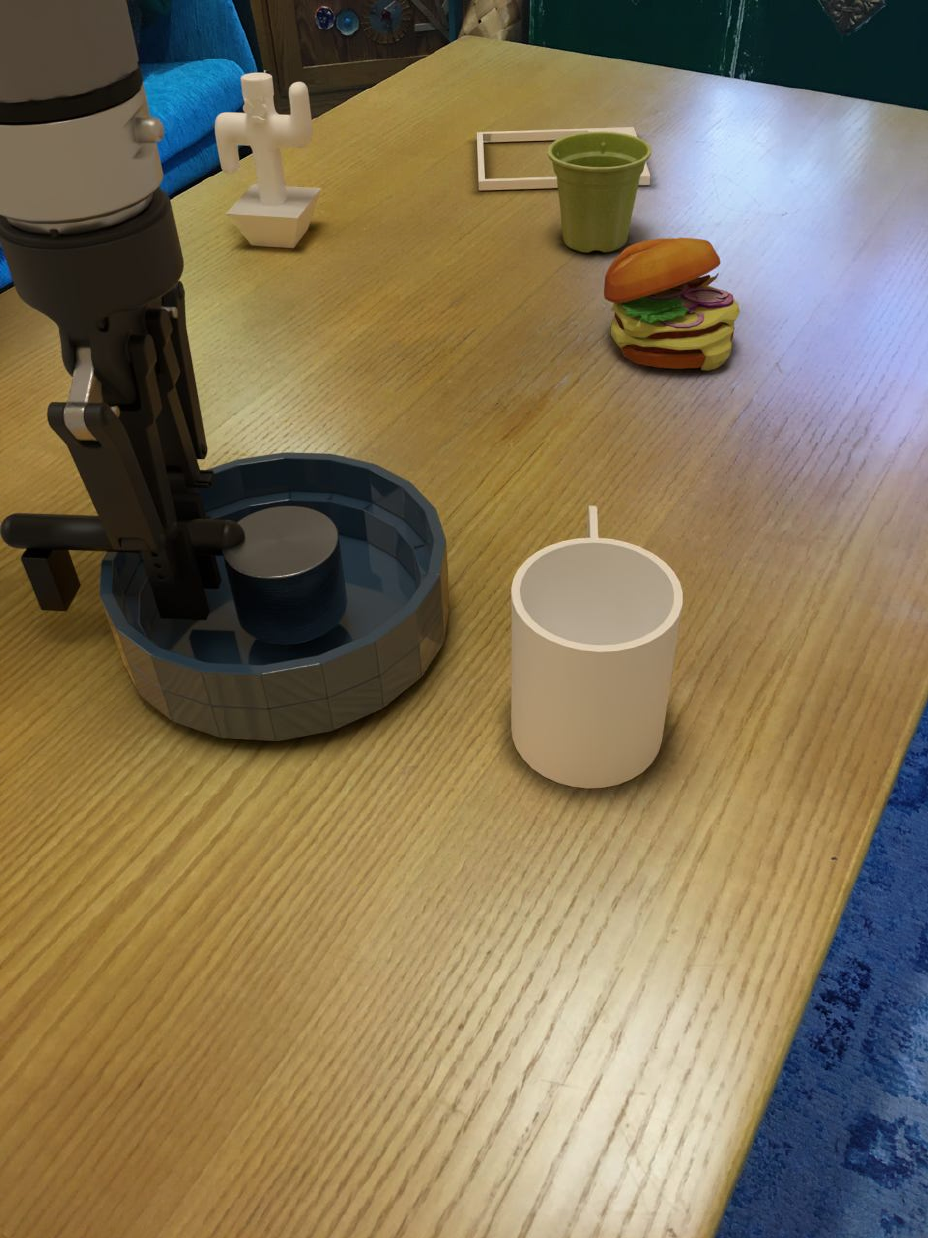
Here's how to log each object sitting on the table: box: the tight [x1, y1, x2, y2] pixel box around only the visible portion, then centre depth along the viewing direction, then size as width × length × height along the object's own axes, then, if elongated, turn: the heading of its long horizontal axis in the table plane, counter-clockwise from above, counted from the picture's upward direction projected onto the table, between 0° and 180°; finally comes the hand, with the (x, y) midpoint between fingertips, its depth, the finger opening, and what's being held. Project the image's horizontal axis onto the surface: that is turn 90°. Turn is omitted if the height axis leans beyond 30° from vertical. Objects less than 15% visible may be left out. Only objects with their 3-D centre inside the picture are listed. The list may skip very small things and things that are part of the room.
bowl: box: [99, 451, 451, 742], centre depth 63 cm, size 19×19×6 cm
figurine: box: [214, 72, 322, 249], centre depth 100 cm, size 7×9×15 cm
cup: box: [510, 505, 684, 789], centre depth 56 cm, size 8×12×10 cm
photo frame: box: [476, 126, 651, 191], centre depth 117 cm, size 15×1×18 cm
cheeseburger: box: [603, 237, 741, 371], centre depth 85 cm, size 10×11×10 cm
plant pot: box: [547, 132, 652, 254], centre depth 100 cm, size 9×9×9 cm
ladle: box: [0, 506, 347, 645], centre depth 60 cm, size 19×6×6 cm, turn 85°
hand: (191, 598), depth 62 cm, fingers closed on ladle, 2 cm apart
